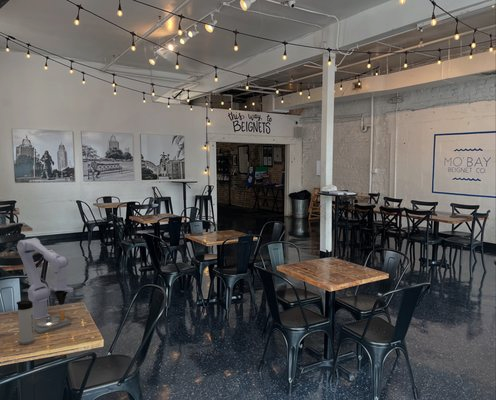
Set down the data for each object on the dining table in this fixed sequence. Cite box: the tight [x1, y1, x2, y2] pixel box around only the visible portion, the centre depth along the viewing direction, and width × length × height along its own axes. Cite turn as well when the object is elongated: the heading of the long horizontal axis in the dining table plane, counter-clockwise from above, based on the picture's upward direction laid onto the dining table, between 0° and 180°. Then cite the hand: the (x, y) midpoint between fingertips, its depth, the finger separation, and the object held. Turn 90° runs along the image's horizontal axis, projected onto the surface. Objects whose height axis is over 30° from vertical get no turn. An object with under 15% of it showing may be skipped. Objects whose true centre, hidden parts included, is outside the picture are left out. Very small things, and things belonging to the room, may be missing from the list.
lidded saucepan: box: [37, 310, 68, 327], centre depth 206 cm, size 14×11×5 cm
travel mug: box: [16, 300, 36, 346], centre depth 185 cm, size 6×7×20 cm
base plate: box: [34, 315, 72, 335], centre depth 206 cm, size 16×16×3 cm
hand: (61, 304), depth 212 cm, fingers closed
